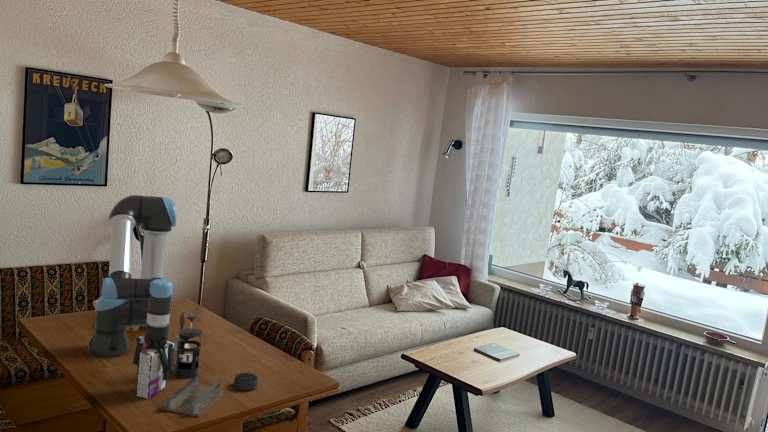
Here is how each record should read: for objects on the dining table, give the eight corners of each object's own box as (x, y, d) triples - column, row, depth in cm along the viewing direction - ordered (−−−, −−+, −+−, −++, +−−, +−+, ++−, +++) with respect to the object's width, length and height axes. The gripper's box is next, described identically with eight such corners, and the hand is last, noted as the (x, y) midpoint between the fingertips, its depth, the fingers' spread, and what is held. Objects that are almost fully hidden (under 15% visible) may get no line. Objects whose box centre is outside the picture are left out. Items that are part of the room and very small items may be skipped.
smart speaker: (230, 389, 219) (232, 379, 218) (236, 380, 228) (238, 370, 227) (254, 393, 219) (255, 382, 218) (259, 383, 228) (260, 373, 227)
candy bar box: (153, 384, 214) (158, 341, 212) (166, 387, 213) (170, 344, 211) (135, 396, 203) (139, 351, 201) (147, 399, 202) (152, 354, 200)
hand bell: (165, 348, 249) (169, 312, 247) (179, 343, 257) (182, 308, 255) (181, 353, 246) (184, 316, 244) (194, 347, 254) (198, 312, 252)
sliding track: (159, 409, 196) (160, 399, 196) (188, 385, 217) (189, 376, 217) (198, 417, 195) (199, 407, 194) (224, 392, 215) (225, 383, 215)
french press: (204, 376, 227) (210, 319, 224) (182, 381, 220) (188, 322, 217) (188, 365, 234) (193, 310, 232) (166, 370, 227) (172, 313, 225)
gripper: (125, 321, 202) (119, 384, 205) (179, 332, 200) (172, 395, 203) (137, 316, 210) (131, 376, 212) (189, 325, 207) (183, 387, 210)
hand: (151, 385), depth 208 cm, fingers open, 7 cm apart
